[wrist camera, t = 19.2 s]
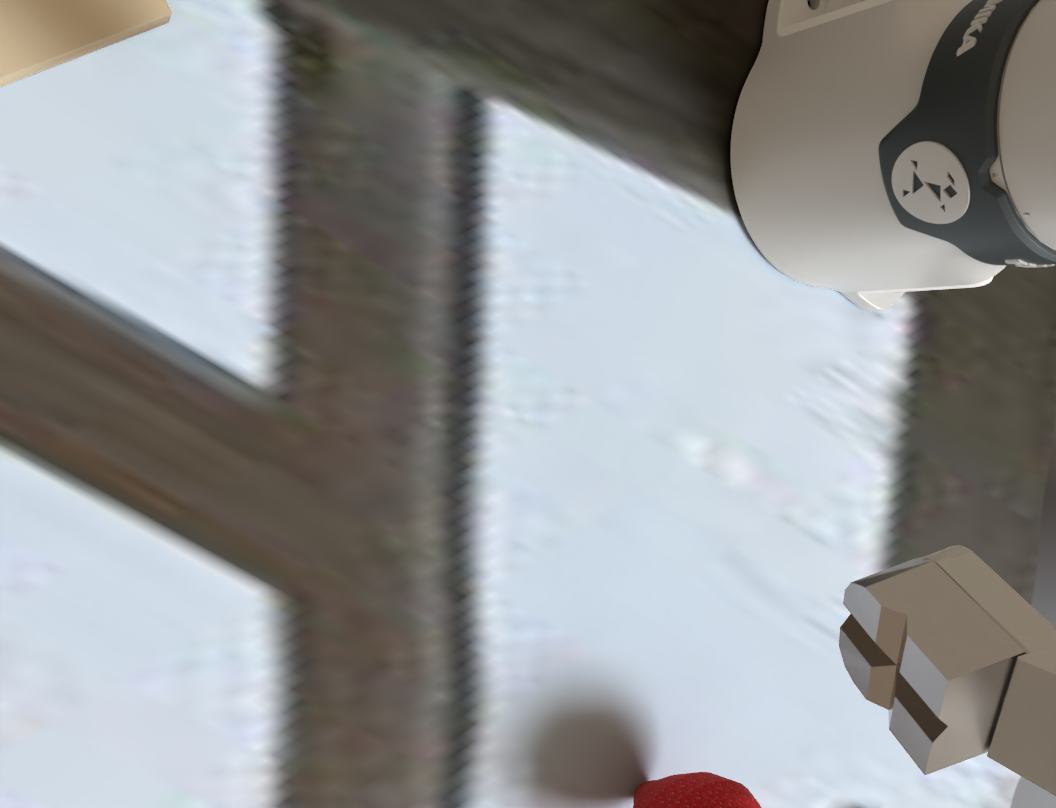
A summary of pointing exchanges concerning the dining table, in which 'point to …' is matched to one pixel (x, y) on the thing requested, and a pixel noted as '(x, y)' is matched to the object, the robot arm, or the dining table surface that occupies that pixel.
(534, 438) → the dining table surface
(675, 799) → the strawberry
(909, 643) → the robot arm
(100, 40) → the cutting board
